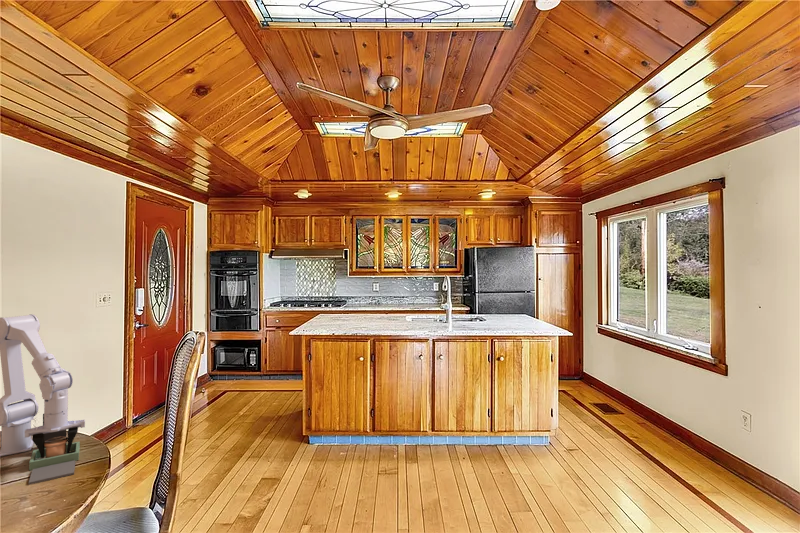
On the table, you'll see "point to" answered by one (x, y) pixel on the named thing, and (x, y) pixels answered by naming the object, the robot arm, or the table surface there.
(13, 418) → the robot arm
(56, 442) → the terracotta pot
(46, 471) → the slate mat
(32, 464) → the frame
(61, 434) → the phone stand
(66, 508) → the table surface
